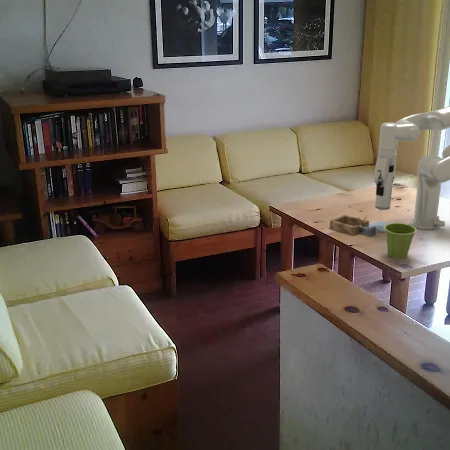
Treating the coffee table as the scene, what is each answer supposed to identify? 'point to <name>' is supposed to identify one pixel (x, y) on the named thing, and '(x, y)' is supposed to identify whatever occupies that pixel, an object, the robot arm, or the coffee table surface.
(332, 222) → the wooden tray
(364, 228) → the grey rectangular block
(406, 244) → the plant pot
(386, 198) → the travel mug
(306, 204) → the coffee table surface
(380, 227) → the pad
